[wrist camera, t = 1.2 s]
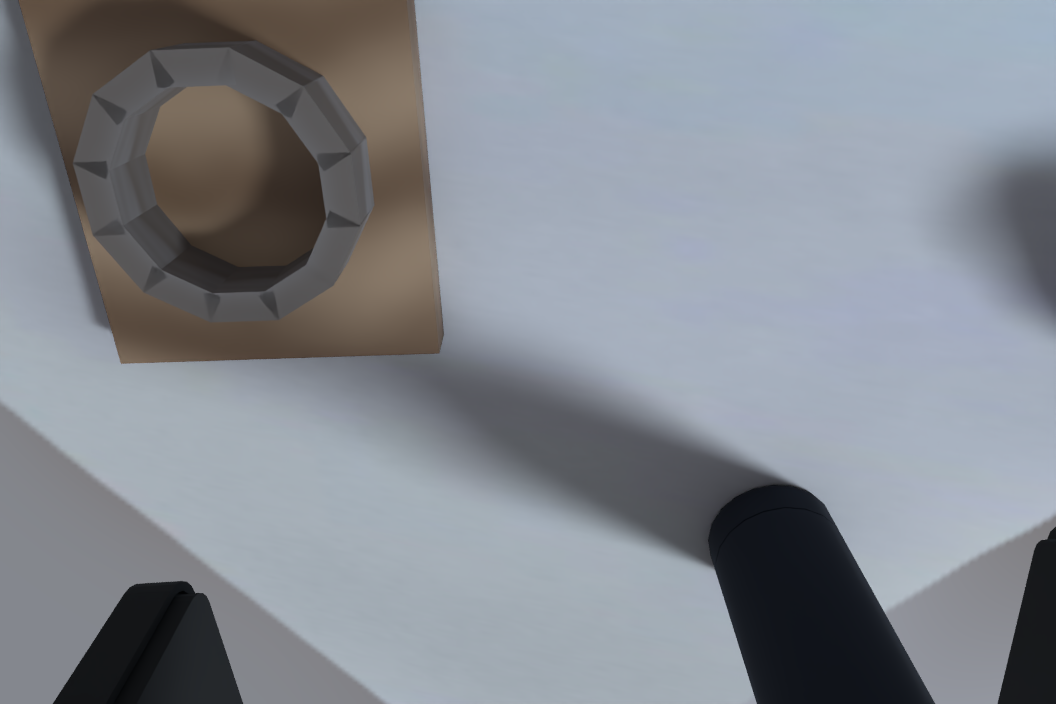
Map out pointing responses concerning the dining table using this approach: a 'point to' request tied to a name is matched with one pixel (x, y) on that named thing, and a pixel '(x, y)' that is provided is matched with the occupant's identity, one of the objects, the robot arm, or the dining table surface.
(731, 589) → the black water bottle
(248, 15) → the socket base
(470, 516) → the dining table surface
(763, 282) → the dining table surface
